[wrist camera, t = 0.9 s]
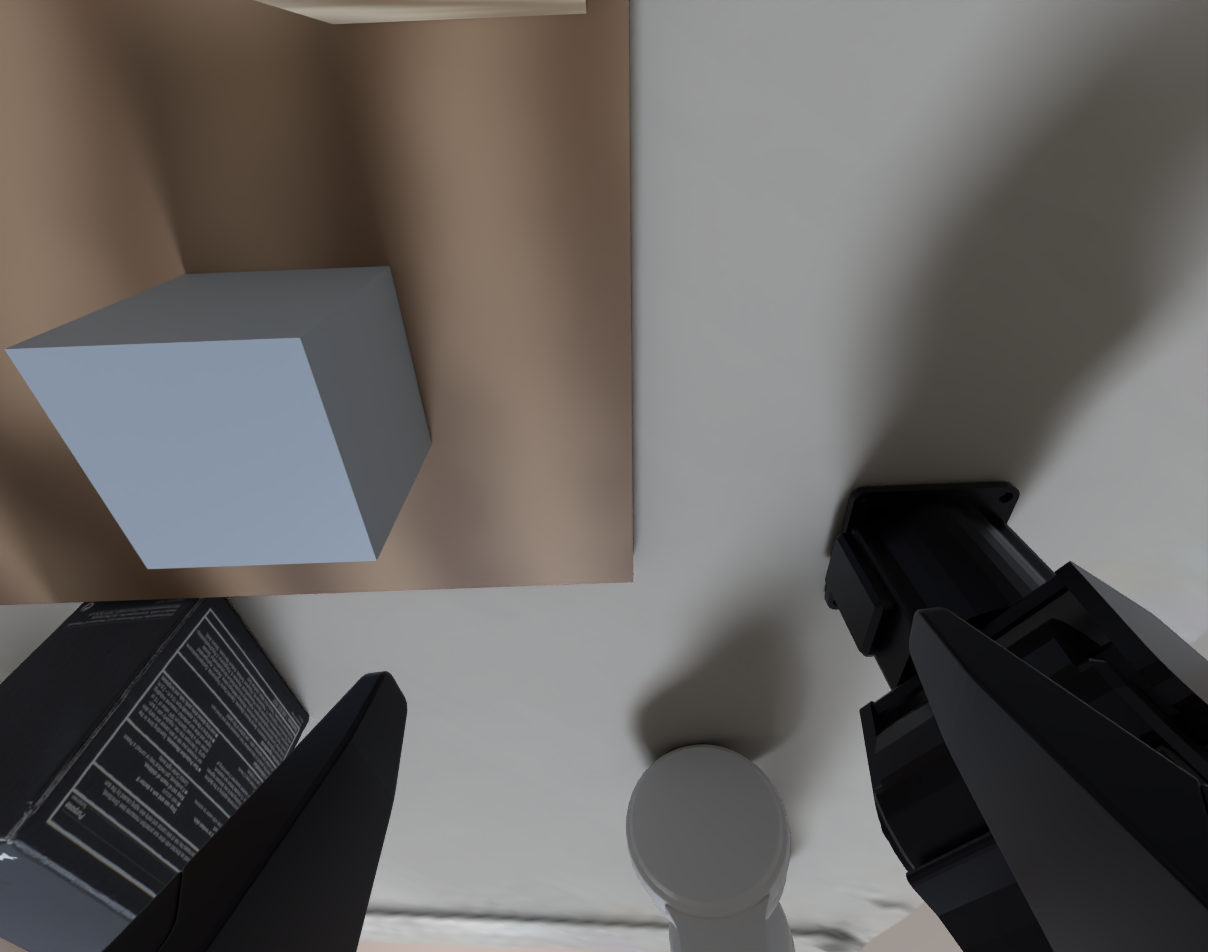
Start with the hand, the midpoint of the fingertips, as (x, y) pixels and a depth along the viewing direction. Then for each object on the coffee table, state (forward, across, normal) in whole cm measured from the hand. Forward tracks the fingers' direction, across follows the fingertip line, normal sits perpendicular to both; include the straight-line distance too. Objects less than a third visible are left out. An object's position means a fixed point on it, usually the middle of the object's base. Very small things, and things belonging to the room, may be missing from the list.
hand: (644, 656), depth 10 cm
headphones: (+13, -1, +33) cm, 35 cm away
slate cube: (+11, +10, -3) cm, 14 cm away
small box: (+12, +22, +11) cm, 28 cm away
